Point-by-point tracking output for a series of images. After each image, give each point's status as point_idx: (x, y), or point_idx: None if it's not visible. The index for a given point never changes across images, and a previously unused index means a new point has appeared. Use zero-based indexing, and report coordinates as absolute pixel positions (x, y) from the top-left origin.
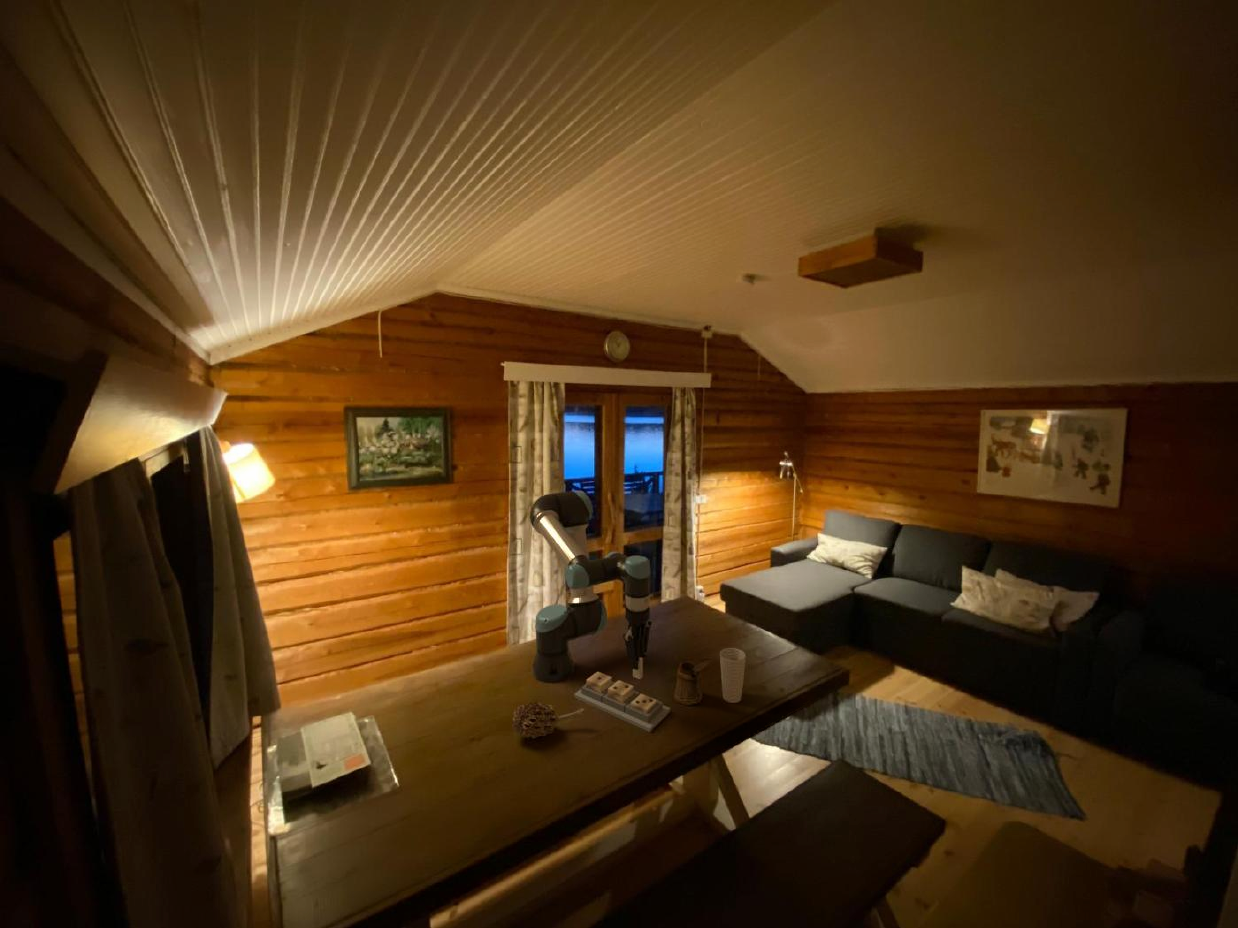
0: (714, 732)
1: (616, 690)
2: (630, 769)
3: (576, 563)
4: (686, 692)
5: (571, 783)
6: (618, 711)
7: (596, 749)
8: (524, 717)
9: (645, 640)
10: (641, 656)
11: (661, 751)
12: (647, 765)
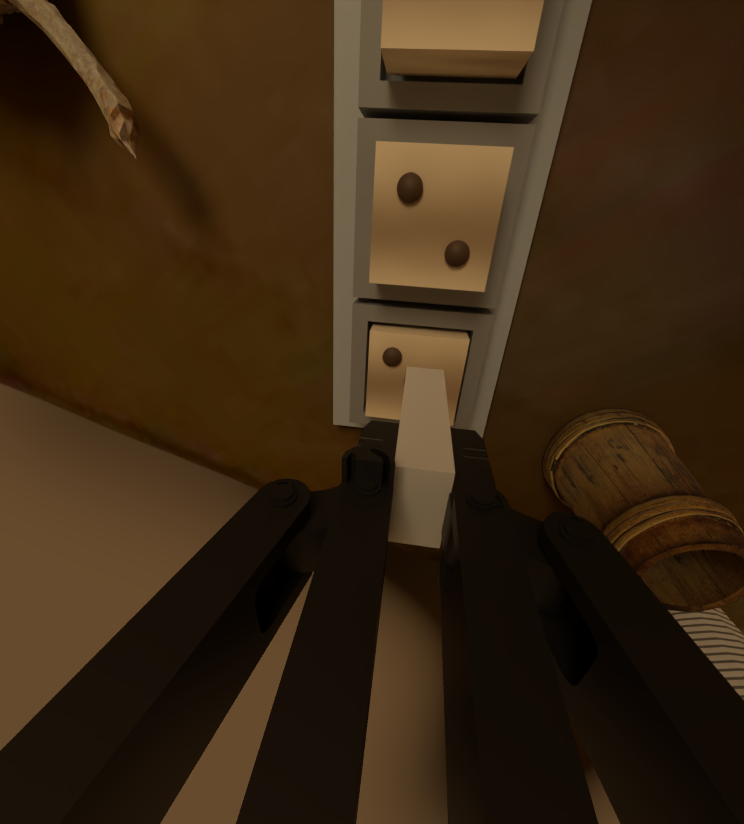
0: (438, 559)
1: (390, 215)
2: (174, 433)
3: None
4: (568, 498)
5: (4, 318)
6: (351, 261)
7: (147, 300)
8: None
9: (625, 800)
10: (443, 549)
11: (286, 475)
12: (218, 463)
